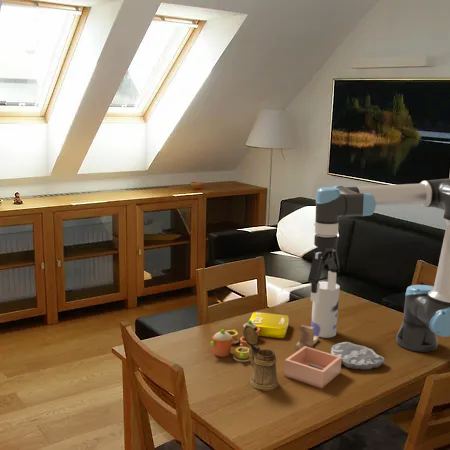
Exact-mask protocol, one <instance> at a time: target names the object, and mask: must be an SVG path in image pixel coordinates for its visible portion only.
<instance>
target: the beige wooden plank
mask: <svg viewBox="0 0 450 450" xmlns="http://www.w3.org/2000/svg"><path fill="white" fill-rule="evenodd" d="M317 342H319V337H318V336H315V335H314V339H313V346H314V345H315V344H316V343H317ZM294 345H295V347H294V348H295V349H296V350H299V341H298V342H297V343H296V344H294Z"/></svg>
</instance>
